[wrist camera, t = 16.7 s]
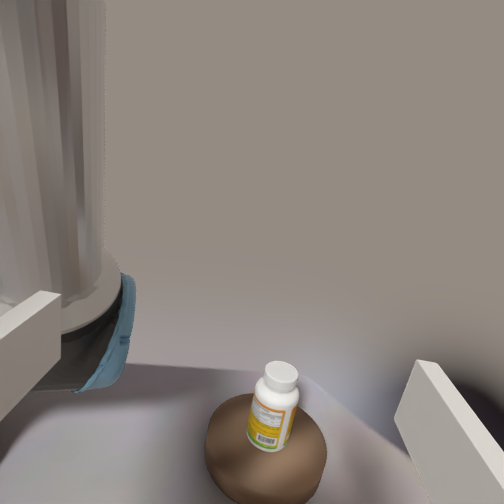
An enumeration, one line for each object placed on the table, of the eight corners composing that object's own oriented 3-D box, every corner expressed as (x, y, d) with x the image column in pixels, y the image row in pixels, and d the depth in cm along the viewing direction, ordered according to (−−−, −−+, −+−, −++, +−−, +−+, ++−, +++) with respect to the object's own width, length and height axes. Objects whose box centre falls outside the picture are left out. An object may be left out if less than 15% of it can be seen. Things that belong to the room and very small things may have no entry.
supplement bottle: (273, 414, 48) (287, 353, 45) (296, 446, 43) (313, 380, 40) (238, 425, 45) (251, 360, 42) (259, 459, 40) (275, 390, 38)
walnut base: (181, 438, 45) (184, 419, 44) (264, 396, 55) (268, 380, 54) (260, 543, 35) (265, 521, 34) (344, 468, 45) (350, 450, 44)
